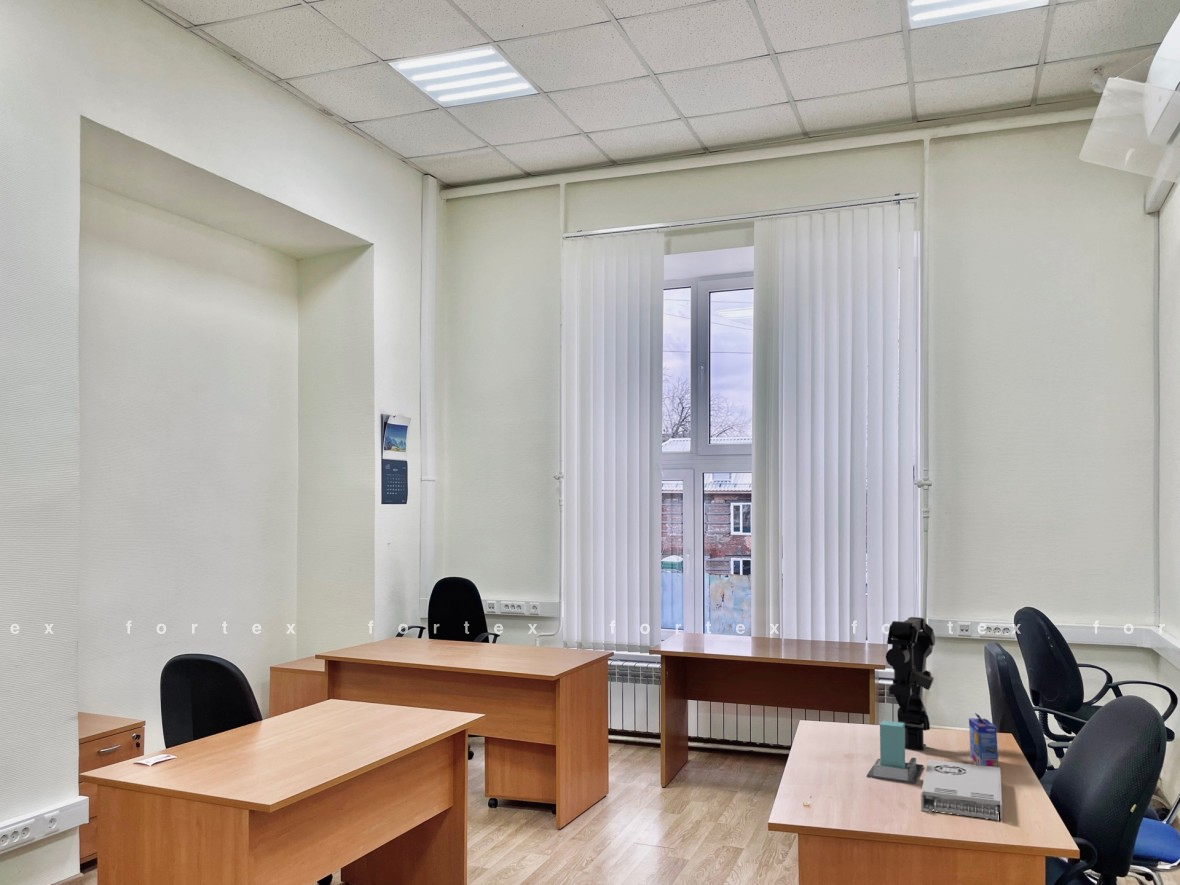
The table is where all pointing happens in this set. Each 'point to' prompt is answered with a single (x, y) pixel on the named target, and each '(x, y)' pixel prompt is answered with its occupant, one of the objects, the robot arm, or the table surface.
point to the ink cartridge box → (983, 742)
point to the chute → (897, 772)
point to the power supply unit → (962, 789)
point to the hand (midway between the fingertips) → (904, 713)
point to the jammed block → (892, 744)
